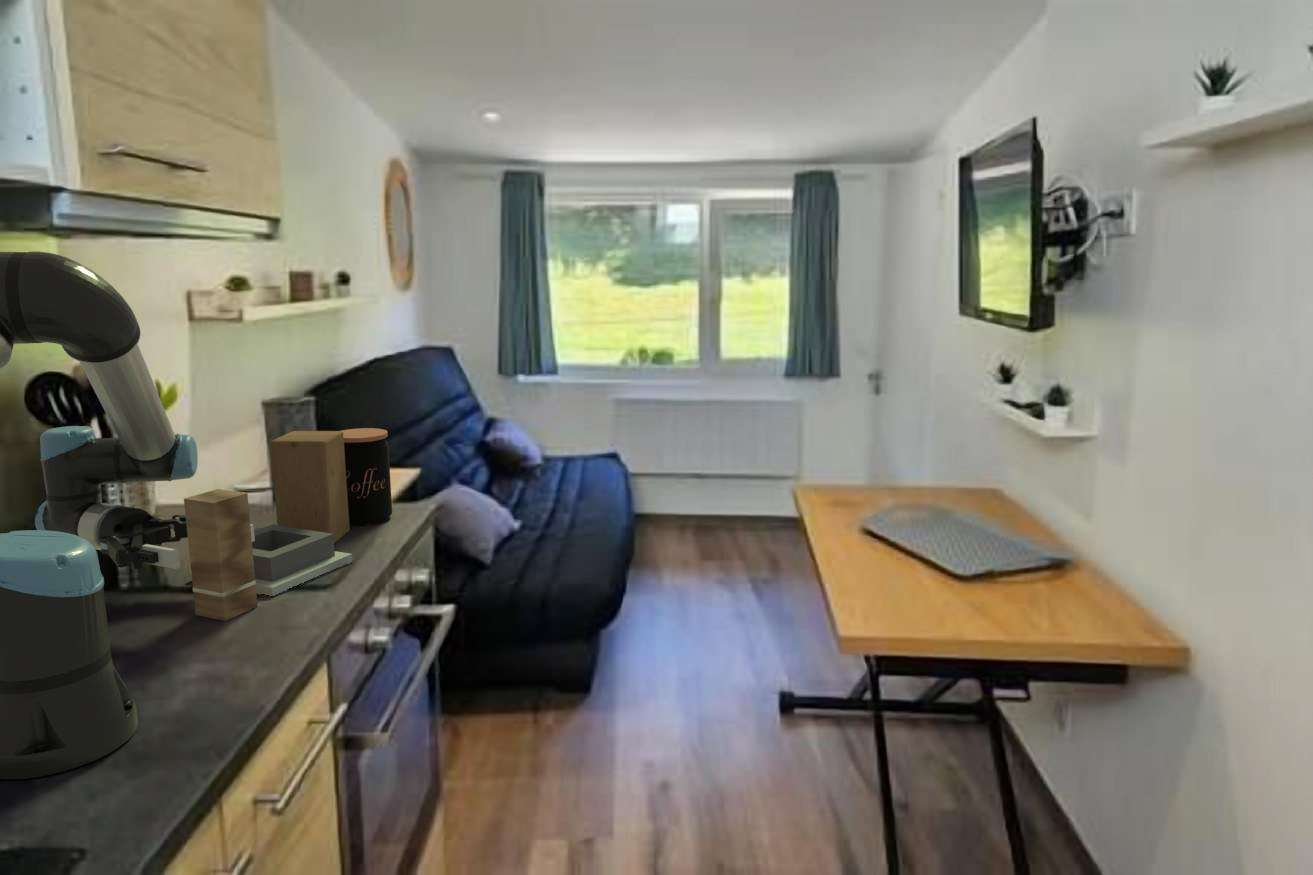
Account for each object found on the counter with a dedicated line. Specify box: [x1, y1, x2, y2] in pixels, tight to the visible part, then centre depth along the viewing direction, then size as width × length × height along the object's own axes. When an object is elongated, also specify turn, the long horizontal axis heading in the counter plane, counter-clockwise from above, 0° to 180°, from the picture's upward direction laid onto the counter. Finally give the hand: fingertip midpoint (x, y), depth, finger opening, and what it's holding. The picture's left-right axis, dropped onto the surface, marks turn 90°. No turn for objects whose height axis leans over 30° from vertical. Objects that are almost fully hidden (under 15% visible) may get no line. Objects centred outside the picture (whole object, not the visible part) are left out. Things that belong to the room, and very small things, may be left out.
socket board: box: [189, 524, 353, 597], centre depth 153 cm, size 18×18×6 cm
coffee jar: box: [340, 427, 393, 527], centre depth 182 cm, size 11×11×18 cm
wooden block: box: [270, 430, 351, 544], centre depth 169 cm, size 10×10×20 cm
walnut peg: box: [183, 488, 258, 622], centre depth 134 cm, size 6×6×18 cm
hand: (216, 545), depth 135 cm, fingers open, 13 cm apart
